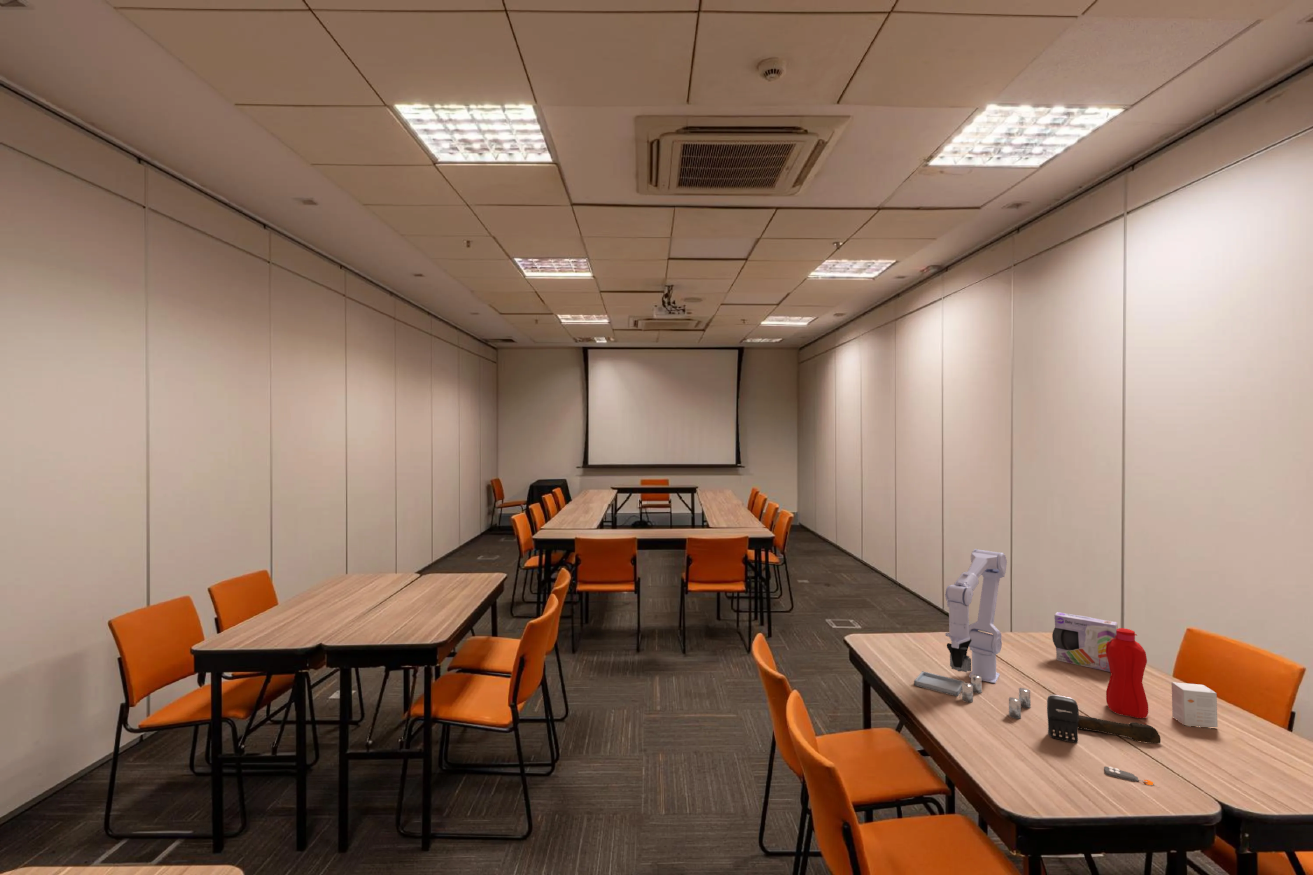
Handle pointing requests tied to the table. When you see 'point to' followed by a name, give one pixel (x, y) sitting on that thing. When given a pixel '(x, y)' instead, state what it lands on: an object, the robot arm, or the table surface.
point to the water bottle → (1126, 675)
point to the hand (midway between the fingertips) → (959, 663)
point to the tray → (939, 683)
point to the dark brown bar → (1121, 729)
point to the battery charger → (1062, 718)
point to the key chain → (1124, 775)
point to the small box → (1194, 705)
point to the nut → (965, 664)
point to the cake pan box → (1082, 640)
